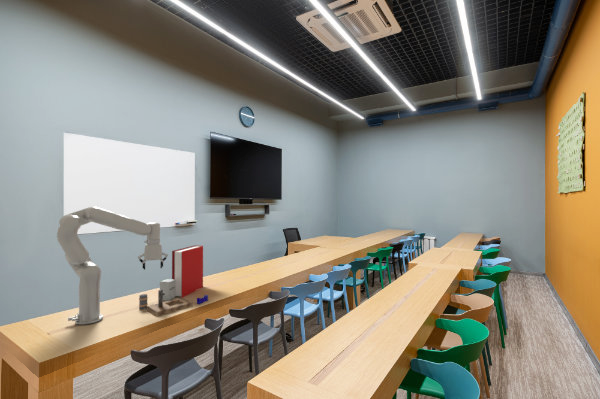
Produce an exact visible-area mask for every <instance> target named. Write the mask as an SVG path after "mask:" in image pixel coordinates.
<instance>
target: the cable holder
mask: <svg viewBox="0 0 600 399" xmlns="http://www.w3.org/2000/svg"><path fill="white" fill-rule="evenodd" d="M208 301H209V295H208V294H204V295H203V297H197V298H196V304H197V305H201V304H203V303H205V302H208Z"/></svg>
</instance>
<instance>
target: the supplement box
mask: <svg viewBox="0 0 600 399" xmlns="http://www.w3.org/2000/svg"><path fill="white" fill-rule="evenodd" d="M159 290H163V293H165V295H163V301H164V302H166V301H170V300H174V299H176V296H175V279H172V278H166V279H164V280H161V281H159Z"/></svg>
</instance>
